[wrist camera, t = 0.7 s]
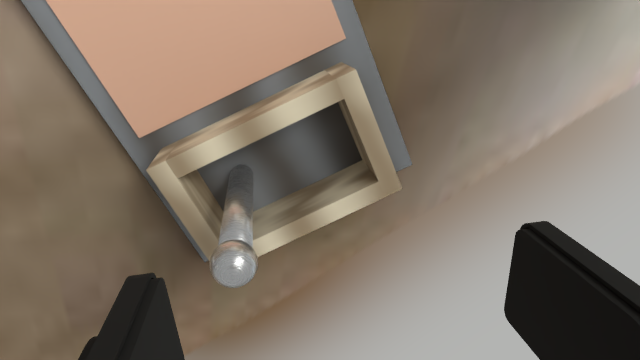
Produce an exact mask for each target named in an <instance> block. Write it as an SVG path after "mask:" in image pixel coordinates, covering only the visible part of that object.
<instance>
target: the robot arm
mask: <svg viewBox="0 0 640 360" xmlns="http://www.w3.org/2000/svg"><path fill="white" fill-rule="evenodd" d="M504 311H505V316H506V318H507V320H508V321H509V323H510V324H511V325H512V327H513V328H514V329H515V330H516V331H517V332H518V334H519V335H520V336H521V337H522V339H523V340H524V341H525V342H526V343H527V344H528V346H529V347H530V348H531V349H532V351H533V352H534V353H535V354H536V355H537V357H538V358H539V359H540V360H640V286H639V285H638V284H636V283H635V282H634V281H632V280H631V279H629V278H628V277H626V276H625V275H623V274H622V273H621V272H619V271H618V270H616V269H615V268H614V267H612V266H611V265H609V264H608V263H606V262H605V261H603V260H602V259H601V258H599V257H598V256H596V255H595V254H594V253H592V252H590V251H589V250H588V249H586V248H585V247H584V246H582V245H581V244H579V243H578V242H576V241H575V240H574V239H572V238H571V237H569V236H568V235H566V234H565V233H563V232H562V231H561V230H559V229H558V228H556V227H555V226H553V225H552V224H551V223H549V222H547V221H541V222H533V223H526V224H524V225H522V227H521V229H520V230H518V231H517V232H516V235H515V241H514V247H513V255H512V260H511V267H510V273H509V280H508V287H507V293H506V300H505V307H504ZM78 360H185V359H184V355H183V351H182V347H181V343H180V339H179V335H178V332H177V328H176V324H175V320H174V316H173V312H172V308H171V304H170V301H169V297H168V293H167V289H166V285H165V282H164V279H163V278H156V276H155V274H154V273H148V274H141V275H133V276H129V277H127V279H126V280H125V282H124V284H123V286H122V288H121V290H120V292H119V294H118V296H117V298H116V300H115V302H114V304H113V306H112V308H111V310H110V312H109V314H108V316H107V318H106V320H105V322H104V324H103V326H102V328H101V330H100V332H99V334H98V336H97V337H93V338H91V339H90V340H89V341H88V343H87V344H86V346H85V348H84V349H83V351H82V353H81V355H80V357H79V359H78Z"/></svg>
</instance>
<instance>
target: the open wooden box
mask: <svg viewBox="0 0 640 360" xmlns="http://www.w3.org/2000/svg"><path fill="white" fill-rule="evenodd" d="M337 102H338V104H339V106H340V108H341V111H342V113H343V115H344V118H345V120H346V123H347V125H348V127H349V130H350V132H351V134H352V137H353V139H354V141H355V144H356V146H357V148H358V151H359V153H360V156H361V158H362V161H360V162H357V163H355V164H353V165H351V166H349V167H347V168H345V169H343V170H341V171H338V172H336V173H334V174H332V175H330V176H328V177H326V178H324V179H322V180H319V181H317V182H315V183H313V184H311V185H309V186H307V187H305V188H303V189H300V190H298V191H296V192H294V193H292V194H290V195H288V196H286V197H283V198H281V199H279V200H277V201H275V202H273V203H271V204H269V205H267V206H264V207H262V208H260V209H258V210H256V211H254V212H253V249H254V250H255V252H256V254H257V257H259V256H261V255H263V254H265V253H267V252H270V251H272V250H274V249H276V248H278V247H280V246H282V245H285V244H287V243H289V242H291V241H293V240H295V239H297V238H299V237H302V236H304V235H306V234H308V233H310V232H312V231H314V230H316V229H319V228H321V227H323V226H325V225H327V224H329V223H331V222H333V221H336V220H338V219H340V218H342V217H344V216H346V215H348V214H351V213H353V212H355V211H357V210H359V209H361V208H363V207H365V206H368V205H370V204H372V203H374V202H376V201H378V200H380V199H382V198H385V197H387V196H389V195H391V194H393V193H395V192H397V191H399V190H402V186H401V184H400V181H399V178H398V176H397V173H396V171H395V168H394V166H393V163H392V160H391V158H390V155H389V153H388V150H387V148H386V145H385V142H384V140H383V137H382V135H381V132H380V130H379V127H378V125H377V122H376V119H375V117H374V114H373V112H372V109H371V107H370V104H369V101H368V99H367V96H366V94H365V91H364V89H363V86H362V83H361V81H360V78H359V76H358V73H357V71H356V69H354V68H352V67H350V66H348V65H346V64H344V63H342V62H340V63H338V64H336V65H334V66H332V67H330V68H328V69H326V70H324V71H321V72H319V73H317V74H315V75H313V76H311V77H309V78H307V79H305V80H303V81H301V82H299V83H297V84H294V85H292V86H290V87H288V88H286V89H284V90H282V91H280V92H278V93H276V94H274V95H272V96H270V97H267V98H265V99H263V100H261V101H259V102H257V103H255V104H253V105H251V106H249V107H247V108H245V109H243V110H240V111H238V112H236V113H234V114H232V115H230V116H228V117H226V118H224V119H222V120H220V121H218V122H215V123H213V124H211V125H209V126H207V127H205V128H203V129H201V130H199V131H197V132H195V133H193V134H191V135H188V136H186V137H184V138H182V139H180V140H178V141H176V142H174V143H172V144H170V145H168V146H166V147H164V148H162V149H161V150H160V151H159V153H158V154H157V156H156V157H155V158H154V160H153V161H152V162H151V164H150V165H149V167H148V168H147V169H146V171H147V172H148V174H149V175H150V177H151V178H152V179H153V181H154V182H155V184H156V185H157V187H158V188H159V190H160V191H161V192H162V194H163V195H164V197H165V198H166V200H167V201H168V202H169V204H170V205H171V207H172V208H173V210H174V211H175V213H176V214H177V215H178V217H179V218H180V220H181V221H182V223H183V224H184V226H185V227H186V228H187V230H188V231H189V233H190V234H191V236H192V237H193V238H194V240H195V241H196V243H197V244H198V246H199V247H200V249H201V250H202V251H203V253H204V254H205V256H206V257H207V259H208V260H209V262H210V258H211V255H212V253H213V251H214V250H215V248H216V247H217V246H218V242H219V236H220V230H221V224H222V218H223V210H222V209H221V207H220V205H219V204H218V202H217V201H216V199H215V197H214V196H213V194H212V193H211V191H210V190H209V188H208V186H207V185H206V183H205V182H204V180H203V178H202V177H201V175H200V174H199V172H198V171H197V169H199V168H201V167H203V166H205V165H207V164H209V163H211V162H213V161H215V160H217V159H220V158H222V157H224V156H226V155H228V154H230V153H232V152H234V151H236V150H238V149H240V148H242V147H245V146H247V145H249V144H251V143H253V142H255V141H257V140H259V139H261V138H263V137H265V136H268V135H270V134H272V133H274V132H276V131H278V130H280V129H282V128H284V127H286V126H288V125H291V124H293V123H295V122H297V121H299V120H301V119H303V118H305V117H307V116H309V115H311V114H314V113H316V112H318V111H320V110H322V109H324V108H326V107H328V106H330V105H332V104H334V103H337Z"/></svg>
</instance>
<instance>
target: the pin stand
mask: <svg viewBox="0 0 640 360" xmlns="http://www.w3.org/2000/svg"><path fill="white" fill-rule="evenodd" d="M21 1H22V3H23V4H24V5H25V7H26V8H27V10H28V11H29V13H30V14H31V15H32V17H33V18H34V20H35V21H36V23H37V24H38V25H39V27H40V28H41V30H42V31H43V32H44V34H45V35H46V37H47V38H48V40H49V41H50V42H51V44H52V45H53V47H54V48H55V50H56V51H57V52H58V54H59V55H60V57H61V58H62V60H63V61H64V62H65V64H66V65H67V67H68V68H69V70H70V71H71V72H72V74H73V75H74V77H75V78H76V79H77V81H78V82H79V84H80V85H81V87H82V88H83V89H84V91H85V92H86V94H87V95H88V97H89V98H90V99H91V101H92V102H93V104H94V105H95V107H96V108H97V109H98V111H99V112H100V114H101V115H102V117H103V118H104V119H105V121H106V122H107V124H108V125H109V127H110V128H111V129H112V131H113V132H114V134H115V135H116V136H117V138H118V139H119V141H120V142H121V144H122V145H123V146H124V148H125V149H126V151H127V152H128V154H129V155H130V156H131V158H132V159H133V161H134V162H135V164H136V165H137V166H138V168H139V169H140V171H141V172H142V174H143V175H144V176H145V178H146V179H147V181H148V182H149V184H150V185H151V186H152V188H153V189H154V191H155V192H156V193H157V195H158V196H159V198H160V199H161V201H162V202H163V203H164V205H165V206H166V208H167V209H168V211H169V212H170V213H171V215H172V216H173V218H174V219H175V221H176V222H177V223H178V225H179V226H180V228H181V229H182V231H183V232H184V233H185V235H186V236H187V238H188V239H189V241H190V242H191V243H192V245H193V246H194V248H195V249H196V250H197V252H198V253H199V255H200V256H201V258H202V259H203V260H204V262H206V261H209V260H208V259H207V257H206V256H205V254H204V253H203V251H202V250H201V249H200V247H199V246H198V244H197V243H196V241H195V240H194V238H193V237H192V236H191V234H190V233H189V231H188V230H187V228H186V227H185V226H184V224H183V223H182V221H181V220H180V218H179V217H178V215H177V214H176V213H175V211H174V210H173V208H172V207H171V205H170V204H169V202H168V201H167V200H166V198H165V197H164V195H163V194H162V192H161V191H160V190H159V188H158V187H157V185H156V184H155V182H154V181H153V179H152V178H151V177H150V175H149V174H148V172H147V171H146V169H147V168H148V167H149V165H150V164H151V162H152V161H153V160H154V158H155V157H156V156H157V154H158V153H159V151H160V150H161V149H162V148H164V147H166V146H168V145H170V144H172V143H174V142H176V141H178V140H180V139H182V138H184V137H186V136H188V135H191V134H193V133H195V132H197V131H199V130H201V129H203V128H205V127H207V126H209V125H211V124H213V123H215V122H218V121H220V120H222V119H224V118H226V117H228V116H230V115H232V114H234V113H236V112H238V111H240V110H243V109H245V108H247V107H249V106H251V105H253V104H255V103H257V102H259V101H261V100H263V99H265V98H267V97H270V96H272V95H274V94H276V93H278V92H280V91H282V90H284V89H286V88H288V87H290V86H292V85H294V84H297V83H299V82H301V81H303V80H305V79H307V78H309V77H311V76H313V75H315V74H317V73H319V72H321V71H324V70H326V69H328V68H330V67H332V66H334V65H336V64H338V63H340V62H342V63H344V64H346V65H348V66H350V67H352V68H354V69H356V71H357V73H358V76H359V78H360V81H361V83H362V86H363V89H364V91H365V94H366V96H367V99H368V101H369V104H370V107H371V109H372V112H373V114H374V117H375V119H376V122H377V125H378V127H379V130H380V132H381V135H382V137H383V140H384V142H385V145H386V148H387V150H388V153H389V155H390V158H391V160H392V163H393V166H394V168H395V171H396V172H397V171H400V170H402V169H404V168H406V167H408V166H410V165H412V162H411V159H410V157H409V154H408V151H407V149H406V146H405V143H404V140H403V138H402V135H401V132H400V129H399V127H398V124H397V121H396V118H395V116H394V113H393V110H392V108H391V105H390V102H389V99H388V97H387V94H386V91H385V88H384V86H383V83H382V80H381V78H380V75H379V72H378V69H377V67H376V64H375V61H374V58H373V56H372V53H371V50H370V47H369V45H368V42H367V39H366V37H365V34H364V31H363V28H362V26H361V23H360V20H359V17H358V15H357V12H356V9H355V6H354V4H353V1H352V0H21ZM360 161H362V158H361V156H360V153H359V151H358V148H357V146H356V144H355V141H354V139H353V137H352V134H351V132H350V130H349V127H348V125H347V123H346V120H345V118H344V115H343V113H342V111H341V108H340V106H339V104H338V102H337V103H334V104H332V105H330V106H328V107H326V108H324V109H322V110H320V111H318V112H316V113H314V114H311V115H309V116H307V117H305V118H303V119H301V120H299V121H297V122H295V123H293V124H291V125H288V126H286V127H284V128H282V129H280V130H278V131H276V132H274V133H272V134H270V135H268V136H265V137H263V138H261V139H259V140H257V141H255V142H253V143H251V144H249V145H247V146H245V147H242V148H240V149H238V150H236V151H234V152H232V153H230V154H228V155H226V156H224V157H222V158H220V159H217V160H215V161H213V162H211V163H209V164H207V165H205V166H203V167H201V168H199V169H197V171H198V172H199V174H200V175H201V177H202V178H203V180H204V182H205V183H206V185H207V186H208V188H209V190H210V191H211V193H212V194H213V196H214V197H215V199H216V201H217V202H218V204H219V205H220V207H221V209H222V210H223V218H222V224H221V230H220V236H219V242H218V246H217V247H216V248H215V250H214V251H213V253H212V255H211V258H210V263H209V267H210V272H211V275H212V277H213V278H214V279H215V281H216V282H217V283H219V284H220V285H222V286H224V287H228V288H238V287H241V286H243V285H245V284H247V283H248V282H249V281H250V280H251V279H252V278H253V277H254V275H255V273H256V271H257V268H258V258H257V254H256V252H255V250H254V249H253V212H254V211H256V210H258V209H260V208H262V207H264V206H267V205H269V204H271V203H273V202H275V201H277V200H279V199H281V198H283V197H286V196H288V195H290V194H292V193H294V192H296V191H298V190H300V189H303V188H305V187H307V186H309V185H311V184H313V183H315V182H317V181H319V180H322V179H324V178H326V177H328V176H330V175H332V174H334V173H336V172H338V171H341V170H343V169H345V168H347V167H349V166H351V165H353V164H355V163H357V162H360Z"/></svg>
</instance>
